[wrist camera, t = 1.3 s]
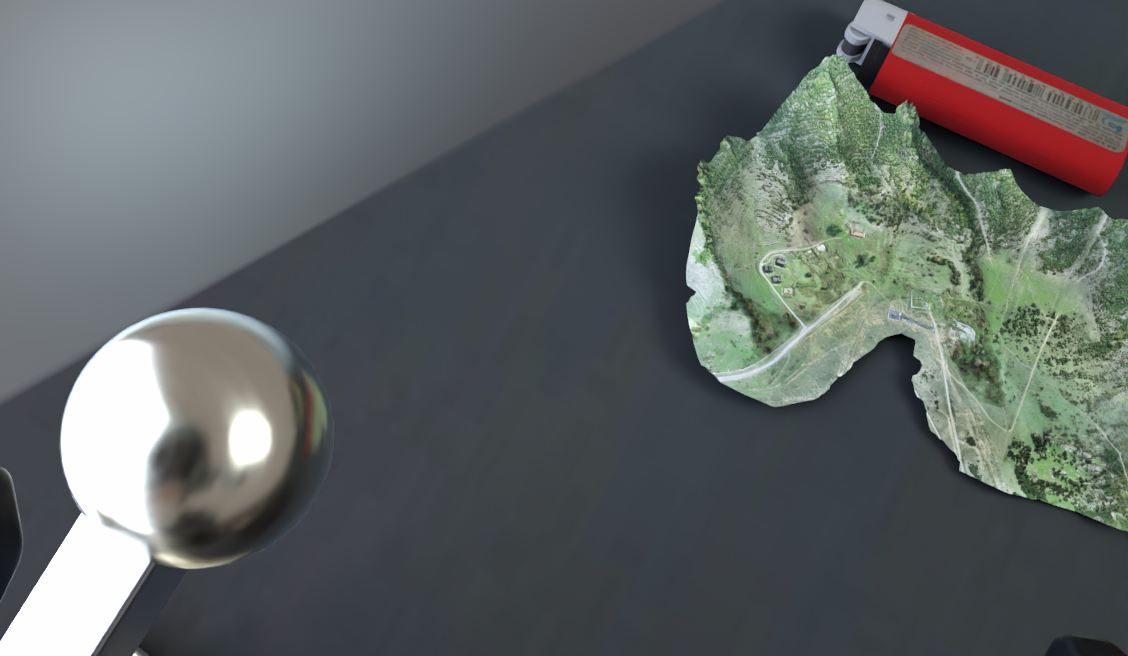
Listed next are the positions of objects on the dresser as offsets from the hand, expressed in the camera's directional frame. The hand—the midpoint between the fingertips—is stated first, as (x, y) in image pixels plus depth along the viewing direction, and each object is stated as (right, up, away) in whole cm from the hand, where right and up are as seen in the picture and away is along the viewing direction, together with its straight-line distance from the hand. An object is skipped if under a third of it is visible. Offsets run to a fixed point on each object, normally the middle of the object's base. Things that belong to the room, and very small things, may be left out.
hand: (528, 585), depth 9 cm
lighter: (+15, +7, +19) cm, 26 cm away
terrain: (+10, +3, +15) cm, 19 cm away
